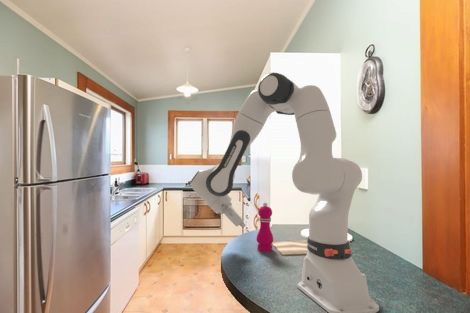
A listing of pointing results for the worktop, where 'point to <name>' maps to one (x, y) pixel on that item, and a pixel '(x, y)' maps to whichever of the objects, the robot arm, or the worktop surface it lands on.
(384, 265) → the worktop surface
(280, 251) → the wooden board
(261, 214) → the pepper mill
